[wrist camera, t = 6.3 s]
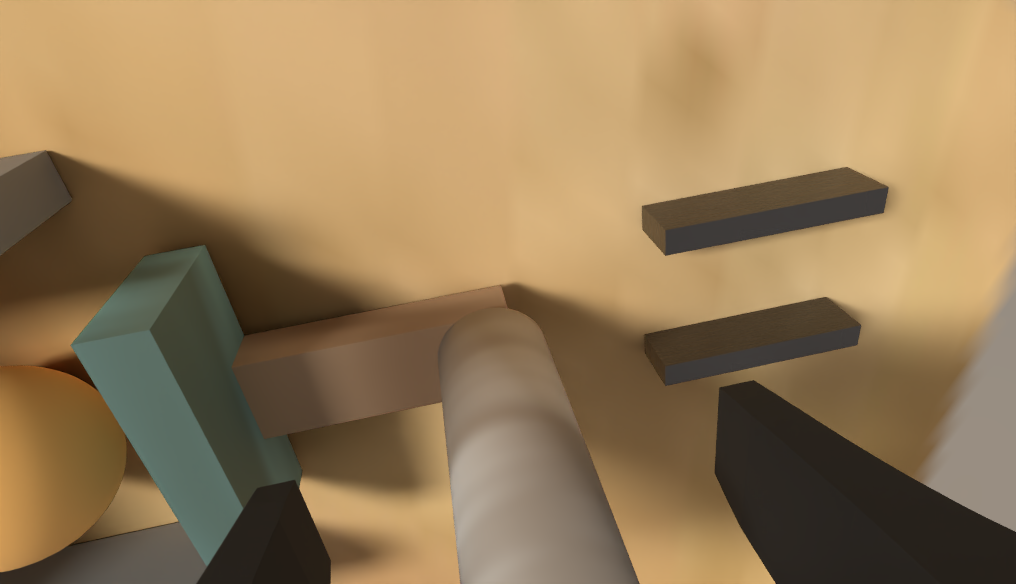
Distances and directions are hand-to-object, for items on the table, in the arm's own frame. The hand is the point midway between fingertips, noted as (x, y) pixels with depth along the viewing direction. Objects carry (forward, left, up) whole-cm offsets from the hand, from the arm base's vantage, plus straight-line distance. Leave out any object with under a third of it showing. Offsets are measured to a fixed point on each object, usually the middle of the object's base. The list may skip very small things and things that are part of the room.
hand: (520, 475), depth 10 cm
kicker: (-3, 0, -5) cm, 6 cm away
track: (+7, 0, -5) cm, 8 cm away
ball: (-10, 0, -3) cm, 10 cm away
